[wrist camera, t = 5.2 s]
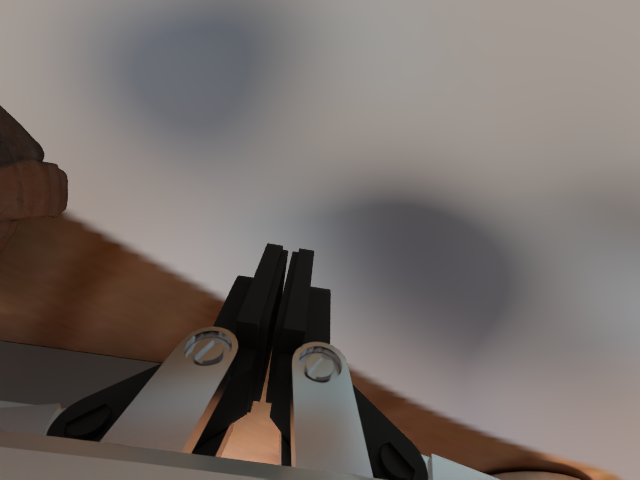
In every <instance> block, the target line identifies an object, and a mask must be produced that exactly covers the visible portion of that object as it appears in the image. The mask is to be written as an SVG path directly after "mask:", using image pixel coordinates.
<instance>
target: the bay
mask: <svg viewBox="0 0 640 480" xmlns="http://www.w3.org/2000/svg"><path fill="white" fill-rule="evenodd" d="M159 364H161V363H155V362H148V361H140V360H133V359H126V358H119V357H112V356H105V355H97V354H90V353H83V352H76V351H69V350H62V349H54V348H47V347H40V346H33V345H26V344H19V343H11V342H4V341H0V408H6V407H19V406H32V405H45V404H58V403H60V406H61V408H68V407H69V406H70V405H72V404H74V403H75V402H77V401H79V400H81V399H83V398H85V397H87V396H89V395H91V394H94V393H96V392H98V391H100V390H103V389H105V388H107V387H109V386H112V385H114V384H116V383H118V382H121V381H123V380H125V379H127V378H129V377H132V376H134V375H136V374H138V373H141V372H143V371H145V370H147V369H150V368H152V367H154V366H156V365H159Z"/></svg>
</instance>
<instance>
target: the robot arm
mask: <svg viewBox="0 0 640 480" xmlns="http://www.w3.org/2000/svg"><path fill="white" fill-rule="evenodd" d="M287 256H288V251H287V250H283V246H280V245H275V244H269V243H268V244H267V246H266V248H265V251H264V253H263V256H262V258H261V261H260V263H259V266H258V268H257V270H256V273H255V275H254V278H252V277H245V276H238V277H237V278H236V280H235V282H234V284H233V286H232V288H231V290H230V292H229V295H228V297H227V299H226V301H225V303H224V305H223V307H222V309H221V311H220V313H219V315H218V317H217V319H216V321H215V323H214V325H213V326H212V327H203V328H200V329H197V330H195V331H193V332H191V333H189V334H188V335H187V336H186V337H184V338H183V339H182V340H181V342H180V343H179V344H178V345H177V347H176V348H175V349H174V350H173V351H172V353H171V354H170V355H169V356H168V358H167V359H166V360H165V361H164V362H163V363H161V364H159V365H156V366H154V367H152V368H150V369H147V370H145V371H143V372H141V373H138V374H136V375H134V376H132V377H129V378H127V379H125V380H123V381H121V382H118V383H116V384H114V385H112V386H109V387H107V388H105V389H103V390H100V391H98V392H96V393H94V394H91V395H89V396H87V397H85V398H83V399H81V400H79V401H77V402H75V403H74V404H72V405H70V406H69V407H68V408H61V406H60V403H58V404H45V405H32V406H19V407H6V408H0V480H580V479H578V478H575V477H571V476H567V475H563V474H558V473H550V472H538V471H520V472H507V473H500V474H494V475H487V474H484V473H482V472H479V471H477V470H474V469H471V468H469V467H466V466H463V465H461V464H458V463H456V462H453V461H450V460H448V459H445V458H443V457H440V456H437V455H435V454H431V456H430V457H427V456H425V455H422V454H421V453H420V452H419V450H418V449H417V448H416V447H415V446H414V444H413V443H412V442H411V441H410V440H409V439H408V438H407V437H406V436H405V435H404V434H403V433H402V432H401V431H400V430H399V429H398V428H397V427H396V426H394V425H393V424H392V423H391V422H390V421H389V420H388V419H387V418H386V417H385V416H384V415H383V414H382V413H381V412H380V411H379V410H378V409H377V408H376V407H375V406H374V405H373V404H372V403H371V402H370V401H369V400H368V399H367V398H366V397H365V396H364V395H363V394H362V393H361V392H360V391H359V390H358V389H357V388H356V387H355V386H354V385H353V384H352V381H351V377H350V373H349V368H348V364H347V361H346V359H345V357H344V356H343V354H342V353H341V352H340V351H339V350H338V349H336V348H335V347H334V346H332V345H330V296H331V294H330V290H329V289H323V288H316V287H310V285H311V275H312V266H313V257H314V251H312V250H306V249H299V252H292V257H291V261H290V265H289V270H288V274H287V278H286V282H285V286H284V278H285V272H286V263H287ZM283 287H284V291H283ZM282 294H283V295H282ZM271 351H272V355H271ZM270 356H271V363H270V371H269V379H268V387H267V395H266V402H267V403H272V405H271V412H270V418H271V419H272V421H273V422H274V423H275V425H276V426H277V427H278V429H279V430H280V435H279V465H274V464H266V463H259V462H251V461H243V460H236V459H228V458H220V457H221V455H222V453H223V450H224V448H225V446H226V444H227V441H228V439H229V437H230V435H231V432H232V429H233V426H234V422H235V421H237V420H238V419H240V418H241V417H243V416H244V415H246V414H247V412H251V408H252V404H253V401H260V399H261V395H262V391H263V386H264V382H265V378H266V373H267V369H268V364H269V360H270Z"/></svg>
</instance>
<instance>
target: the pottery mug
mask: <svg viewBox="0 0 640 480" xmlns="http://www.w3.org/2000/svg"><path fill="white" fill-rule="evenodd" d="M43 159H44V151H43V149H42V147H41V146H40V144H39V143H38V142H36V141H35V140H34V139H33V138H32V137H31V136H30V134H29V133H28V132H27V131H26V130H25V129H24V128H23V127H22V126H21V125H20V124H19V123H18V122H17V121H16V120H15V119H14V118H13V117H12V116H11V115H10V114H9V113H7V111H6V110H5V109H3V108H2V107H1V106H0V251H1V250H2V248H3V247H4V246H5V245H6V243H7V242H8V240H9V239H10V237H11V236H12V234H13V232H14V231H15V229H16V228H17V222H18V220H20V219H30V218H36V217H43V216H49V217H53V218H55V217H57V216H58V215H59V213H61V212H63V211H64V210H65V209H66V207H67V200H68V180H67V175H66V173H65V172H64V171H62V170H61V169H59V168H58V165H57V164H53V163H48V162H43Z"/></svg>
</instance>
